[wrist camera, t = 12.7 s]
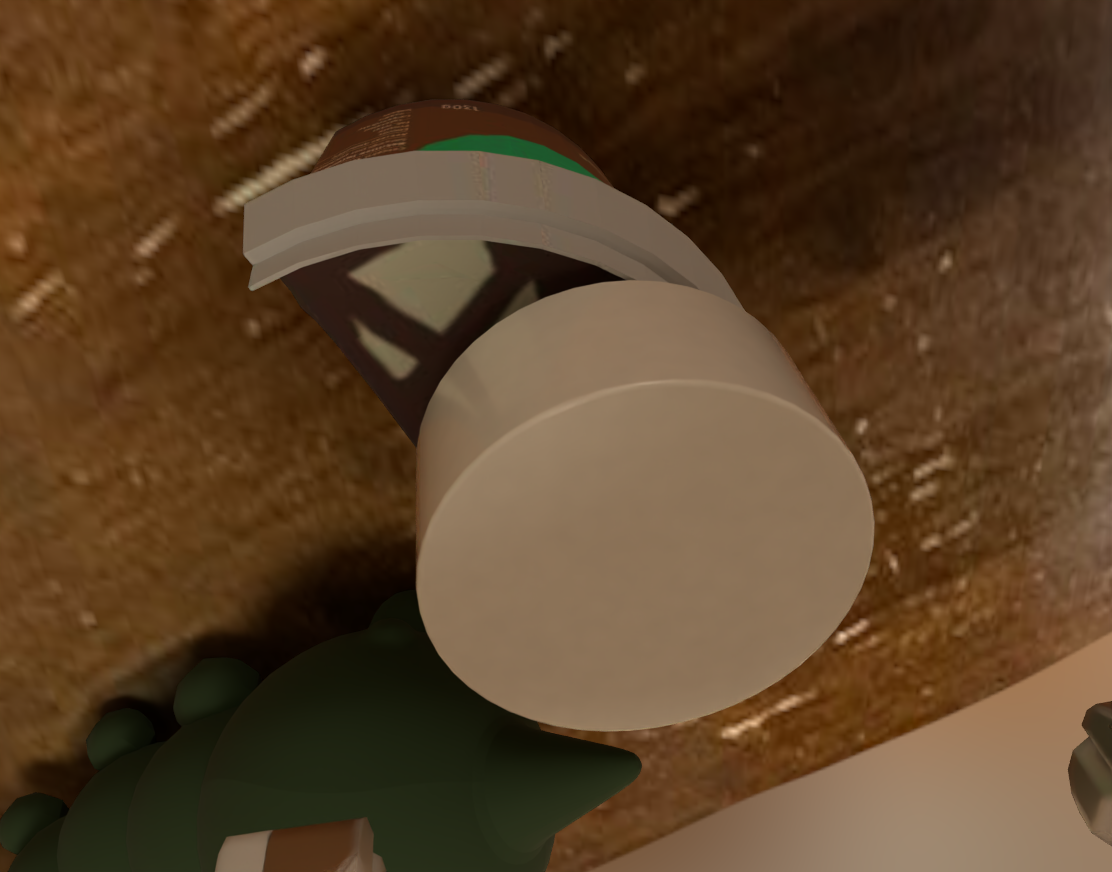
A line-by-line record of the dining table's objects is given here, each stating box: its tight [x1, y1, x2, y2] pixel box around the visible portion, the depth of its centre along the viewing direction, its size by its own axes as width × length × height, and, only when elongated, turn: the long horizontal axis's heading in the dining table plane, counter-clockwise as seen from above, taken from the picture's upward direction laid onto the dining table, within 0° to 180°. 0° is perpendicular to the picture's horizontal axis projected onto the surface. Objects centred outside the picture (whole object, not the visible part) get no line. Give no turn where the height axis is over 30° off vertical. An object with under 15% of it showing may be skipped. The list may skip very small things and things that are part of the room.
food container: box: [243, 99, 745, 448], centre depth 20 cm, size 12×6×10 cm, turn 29°
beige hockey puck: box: [416, 280, 874, 731], centre depth 15 cm, size 7×7×3 cm
